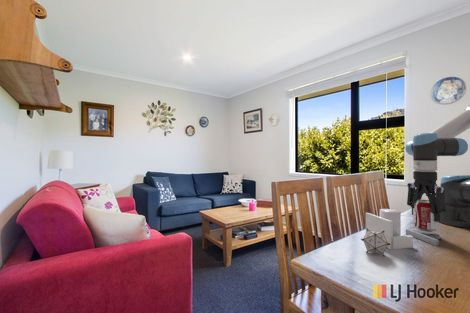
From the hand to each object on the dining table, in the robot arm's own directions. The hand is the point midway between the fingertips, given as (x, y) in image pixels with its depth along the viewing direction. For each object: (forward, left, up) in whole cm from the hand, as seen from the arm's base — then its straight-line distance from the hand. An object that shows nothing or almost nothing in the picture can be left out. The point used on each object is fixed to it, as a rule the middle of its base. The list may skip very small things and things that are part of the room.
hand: (425, 226), depth 91 cm
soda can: (0, 0, -2) cm, 2 cm away
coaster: (0, 0, -4) cm, 4 cm away
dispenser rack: (+16, +3, -4) cm, 16 cm away
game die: (+33, +11, -4) cm, 35 cm away
